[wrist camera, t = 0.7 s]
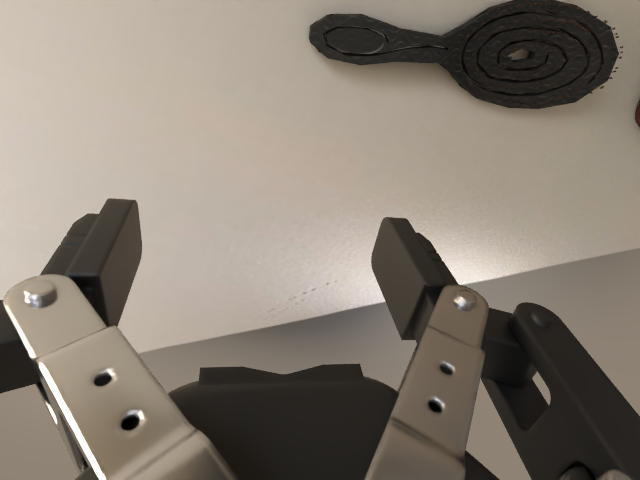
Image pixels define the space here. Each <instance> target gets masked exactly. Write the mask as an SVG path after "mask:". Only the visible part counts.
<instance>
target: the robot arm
mask: <svg viewBox="0 0 640 480" xmlns="http://www.w3.org/2000/svg"><path fill="white" fill-rule="evenodd" d="M436 252H437V251H436V250H435V248H434V247H433V245H432V244H431V242H430V241H429V240H427V239H426V238H425V237H424V236H422V235H421V234H420V233H416V232H415V231H414V229H413V228H412V226H411V224H410V223H409V221H408V220H407V219H406V218H392V217H385V218H384V219H383V220H382V223H381V226H380V229H379V232H378V236H377V239H376V242H375V246H374V249H373V252H372V259H371V263H372V269H373V272H374V274H375V277H376V279H377V282H378V284H379V286H380V289H381V291H382V294H383V296H384V298H385V301H386V303H387V306H388V308H389V311H390V313H391V315H392V318H393V320H394V322H395V325H396V327H397V330H398V332H399V334H400V337H401V339H402V340H416V342H417V346H416V348H415V351H414V353H413V355H412V357H411V360H410V362H409V364H408V367H407V369H406V372H405V374H404V376H403V379H402V381H401V383H400V386H399V388H398V390H397V391H396V390H394V389H393V388H391V387H389V386H388V385H386V384H384V383H382V382H379V381H377V380H375V379H371V378H368V377H364V376H363V374H362V371H361V367H360V364H334V365H321V366H317V367H313V368H309V369H306V370H302V371H298V372H294V373H291V374H284V375H282V374H276V373H272V372H267V371H261V370H256V369H251V368H246V367H214V368H213V367H211V368H200V375H199V381H196V382H192V383H189V384H187V385H184V386H181V387H179V388H177V389H175V390H173V391H171V392H169V393H168V394H167V393H166V391H165V390H164V388H163V387H162V386H161V385H160V383H159V382H158V381H157V379H156V378H155V377H154V375H153V374H152V372H151V371H150V370H149V368H148V367H147V366H146V364H145V363H144V362H143V360H142V359H141V358H140V356H139V355H138V354H137V352H136V351H135V350H134V348H133V347H132V346H131V344H130V343H129V342H128V340H127V339H126V338H125V336H124V335H123V334H122V332H121V331H120V330H119V329H118V327H117V326H118V323H119V320H120V318H121V315H122V312H123V309H124V306H125V303H126V300H127V297H128V295H129V292H130V289H131V286H132V283H133V280H134V277H135V275H136V272H137V269H138V266H139V263H140V260H141V253H142V240H141V230H140V221H139V212H138V204H137V202H136V200H125V199H110V198H109V199H108V200H107V201H106V203H105V204H104V206H103V208H102V210H101V211H100V213H99V214H87V215H85V216H84V217H82V218H81V219H79V220H77V221H76V222H74V224H73V225H72V227H71V228H70V230H69V231H68V233H67V236H65V237H64V239H63V241H62V242H61V245H59V247H58V248H57V250H56V251H55V253H54V254H53V256H52V257H51V259H50V260H49V262H48V264H47V265H46V267H45V268H44V270H43V271H42V273H41V274H40V276H36V277H32V278H29V279H26V280H24V281H22V282H20V283H18V284H16V285H15V286H14V287H12V288H11V289H10V290H9V291H8V292H7V293H6V295H5V297H4V300H0V393H3V392H6V391H10V390H14V389H17V388H21V387H25V386H29V385H32V384H35V385H36V387H37V389H38V391H39V393H40V395H41V397H42V399H43V401H44V403H45V405H46V407H47V409H48V411H49V413H50V415H51V417H52V419H53V421H54V422H55V425H56V427H57V429H58V431H59V433H60V435H61V437H62V439H63V441H64V443H65V445H66V447H67V450H68V452H69V454H70V456H71V459H72V461H73V463H74V465H75V467H76V469H77V471H78V473H79V476H78V477H77V478H76V479H75V480H499V479H498V478H497V477H496V476H495V475H494V474H492V473H491V472H490V471H489V470H488V469H487V468H485V467H484V466H483V465H482V464H481V463H480V462H479V461H478V460H476V459H475V458H474V457H473V456H471V455H470V454H469V453H468V452H467V451H466V450H465V449H466V445H467V440H468V435H469V430H470V425H471V420H472V416H473V410H474V406H475V401H476V396H477V391H478V386H479V382H480V378H481V380H482V382H483V384H484V386H485V388H486V390H487V392H488V394H489V396H490V398H491V399H492V401H493V404H494V406H495V408H496V410H497V411H498V414H499V416H500V418H501V420H502V422H503V424H504V426H505V428H506V429H507V432H508V433H509V435H510V437H511V439H512V441H513V443H514V445H515V447H516V449H517V451H518V453H519V455H520V457H521V459H522V461H523V463H524V465H525V467H526V469H527V471H528V473H529V475H530V477H531V479H532V480H640V416H639V415H638V414H637V413H636V411H635V410H634V409H633V408H632V406H631V405H630V404H629V403H628V402H627V400H626V399H625V398H624V397H623V395H622V394H621V393H620V392H619V390H618V389H617V388H616V387H615V386H614V384H613V383H612V382H611V381H610V379H609V378H608V377H607V376H606V374H605V373H604V372H603V371H602V370H601V368H600V367H599V366H598V365H597V363H596V362H595V361H594V360H593V359H592V357H591V356H590V355H589V354H588V352H587V351H586V350H585V349H584V347H583V346H582V345H581V344H580V343H579V341H578V340H577V339H576V338H575V336H574V335H573V334H572V333H571V332H570V330H569V329H568V328H567V327H566V325H565V324H564V323H563V322H562V320H561V319H560V318H559V317H558V316H556V315H555V314H554V313H553V312H551V311H550V310H548V309H546V308H545V307H542V306H540V305H537V304H534V303H521V304H519V305H518V306H517V307H516V309H515V310H514V312H513V314H512V313H508V312H504V311H500V310H496V309H492V308H489V306H488V303H487V302H486V300H485V299H484V298H483V297H482V296H481V295H480V294H479V293H477V292H476V291H474V290H473V289H471V288H468V287H466V286H462V285H458V283H457V282H456V280H455V278H454V277H453V275H452V274H451V272H450V271H449V269H448V268H447V266H446V265H445V263H444V262H443V261H442V259H441V257H440V256H439V254H438V253H436ZM537 371H538V373H539V374H540V376H541V377H542V379H543V380H544V382H545V383H546V385H547V387H548V388H549V391H550V395H551V402H550V405H548V404H547V402H546V400H545V399H544V397H543V396H542V394H541V392H540V391H539V389H538V388H537V386H536V385H535V383H534V381H533V380H532V377H533V376H534V375H535V373H536V372H537Z"/></svg>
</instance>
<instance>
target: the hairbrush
mask: <svg viewBox="0 0 640 480" xmlns="http://www.w3.org/2000/svg"><path fill="white" fill-rule="evenodd" d="M526 11H546V12H550V13H555V14H559V15H562V16H565V17H568V18H571V19H574V20H575V21H577V22H578V23H579V24H580V25H581V26H579V25H578V24H577V23H574V22H571V21H567V20H564V19H561V18H558V17H555V16H551V15H544V14H537V13H528V12H526ZM513 12H521V13H516V14H511V15H507V14H510V13H513ZM504 15H506V16H504ZM596 17H597V16H595V17H594V16H593V15H591V14H590V13H589V11H588V12H586V11H585V10H583V9H582V8H580V7H578V6H577V5H573V4H568V3H564V2H560V1H555V0H514V1H510V2H506V3H502V4H499V5H495V6H492V7H489V8H488V9H486V10H484V11H483V12H481V13H480V14H478V15H477V16H475V17H474V18H472V19H470V20H469V21H467V22H466V23H464V24H463V25H461V26H459V27H457V28H455V29H453V30H452V31H450V32H448V33H446V34H444V35H442V36H439V35H434V34H428V33H423V32H417V31H412V30H406V29H401V28H398V27H396V26H393V25H390V24H388V23H385V22H382V21H379V20H376V19H374V18H371V17H368V16H365V15H362V14H330V15H326V16H325V17H323V18H322V19H320V20H318V21H317V22H315V23H314V24H312V25H311V26H310V34H309V39H310V42H311V44H312V45H314V46H315V47H316V49H317V50H318V51H319V52H321V53H323V54H324V55H325V56H326V57H327V58H329V59H334V60H339V61H343V62H348V63H353V64H357V65H366V64H377V63H388V62H417V63H439V64H440V65H441V66H443V67H444V68H445V69H447V70H448V71H449V72H450V73H451V75H452V77H453V78H454V79H455V80H456V81H457V82H458V84H459V85H460V86H461V87H462V88H464V89H465V90H467V91H468V92H469V93H470V94H471V95H473V96H474V97H476V98H477V99H480V100H483V101H487V102H490V103H494V104H497V105H501V106H504V107H508V108H531V109H540V108H546V107H552V106H557V105H563V104H569V103H575V102H577V101H578V100H580V99H581V98H583V97H584V96H585V95H587V94H588V93H592V92H591V91H593V90H594V89H596V88H597V87H599V86H600V85H602V84H603V83H605V82H606V81H608V79H612V77H610V78H609V76H610V74H611V71H612V69H613V67H614V64H615V62H616V59H617V57H618V54H619V53H618V49H617V46H616V43H615V40H614V36H613V33H612V30H611V27H610V26H608V25H607V24H605V23H607V21H606V20H605V21H604V22H602V21H601V20H599V19H597V18H596ZM339 25H347V26H360V27H369V28H372V29H374V30H377V31H379V32H381V33H383V34H384V35H385V38H386V39H385V38H384V37H383V36H382V35H380V34H378V33H377V32H375V31H372V30H370V29H369V28H354V27H337V26H339ZM523 25H527V26H539V27H551V28H558V29H561V30H562V31H564V32H565V33H567V34H568V35H570V36H571V37H573V38H574V39H576V40H577V41H579V42H580V44H581V45H580V44H579V43H578V42H576V40H573V39H572V38H571V37H569V36H568V35H566V34H565V33H564V32H559V31H555V30H550V29H539V28H529V27H522V28H515V27H519V26H523ZM335 27H336V28H335ZM582 27H584V28H585V29H586V30H587V31H586V30H585V29H584V28H582ZM333 28H334V29H333ZM512 28H514V29H512ZM331 29H332V30H331ZM614 29H615V28H613V30H614ZM329 30H330V31H329ZM327 31H328V32H327ZM325 32H326V41H327V42H328V44H330V45H331V46H333V47H335V48H337V49H338V50H340V51H342V52H345V53H341V52H339V51H337V50H336V49H334V48H332V47H330V46H329V45H327V44H326V43H325V40H324V37H323V33H325ZM589 32H590V33H591V34H590V33H589ZM616 34H617V33H616ZM614 35H615V34H614ZM618 37H619V36H617V37H616V38H618ZM527 38H530V39H539V40H547V41H549V42H552V43H554V44H555V45H556V46H557V47H558V48H557V47H555V46H552V45H549V44H547V43H544V42H539V41H533V40H522V39H527ZM518 40H522V41H518ZM429 45H436V46H441V47H445V48H439V47H434V46H429ZM407 46H420V47H412V48H405V49H400V50H394V51H389V50H393V49H398V48H403V47H407ZM620 48H623V47H620ZM519 49H524V50H528V51H531V52H530V55H529V57H528V58H527V59H520V60H511V59H510V58H512V57H511V56H510V58H509V57H508V55H509V54H511V53H514V52H515V51H517V50H519ZM560 50H561V51H562V53H561V51H560ZM384 51H388V52H384ZM379 52H382V53H379ZM620 53H623V52H620ZM619 58H622V57H619ZM497 63H498V64H500V65H503V66H506V67H509V68H514V69H503V68H501V67H499V66H497ZM477 65H478V66H479V68H480V69H481V70H482V71H483V72H485V73H486V74H488V75H489V76H488V75H485V74H483V73H482V72H481V71H480V70H479V69H478V68H477ZM462 68H463V69H462ZM617 68H619V67H616V68H615V69H617ZM518 69H521V70H518ZM463 70H464V71H463ZM464 72H466V73H467V74H468V75H469V77H470V78H471V79H472V80H474V81H475V82H477V83H479V84H481V85H483V86H485V87H487V88H489V89H493V90H498V91H502V92H496V91H489V90H487V89H485V88H483V87H481V86H479V85H477V84H475V83H473V82H471V80H469V79H468V78H467V76H466V74H465V73H464ZM613 72H616V71H613ZM490 76H494V77H500V78H506V79H512V80H503V79H496V78H493V77H490ZM525 80H528V81H525ZM602 87H604V86H602ZM602 87H601V89H602ZM505 92H506V93H505ZM523 93H525V94H523Z"/></svg>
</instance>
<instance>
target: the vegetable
mask: <svg viewBox="0 0 640 480" xmlns="http://www.w3.org/2000/svg"><path fill="white" fill-rule="evenodd" d="M636 122H637V123H638V125H639V126H640V102H639V104H638V107H637V111H636Z"/></svg>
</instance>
